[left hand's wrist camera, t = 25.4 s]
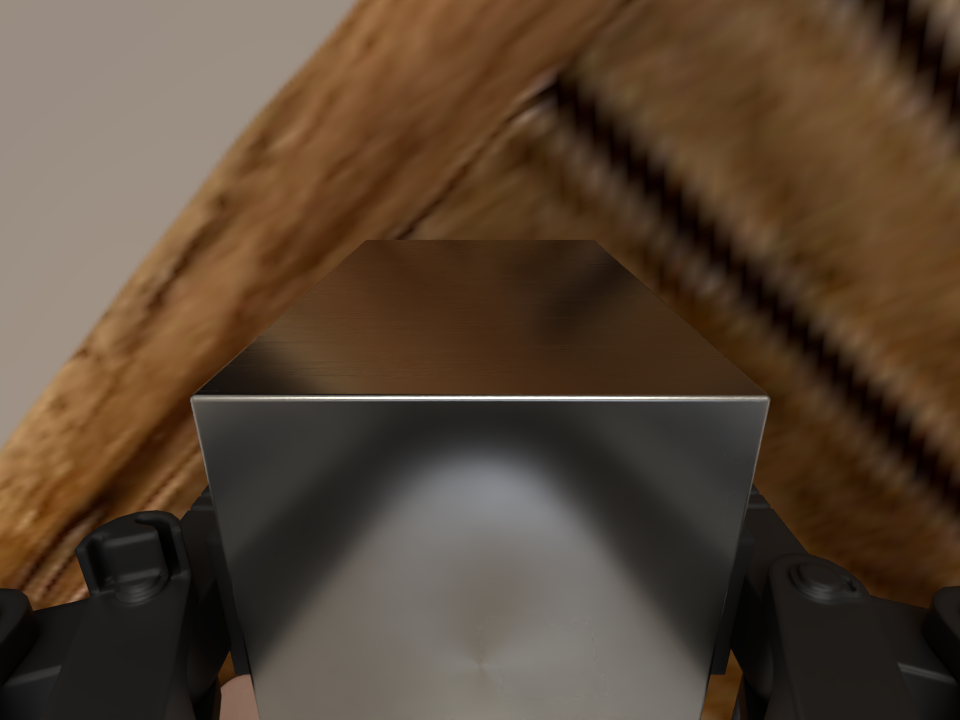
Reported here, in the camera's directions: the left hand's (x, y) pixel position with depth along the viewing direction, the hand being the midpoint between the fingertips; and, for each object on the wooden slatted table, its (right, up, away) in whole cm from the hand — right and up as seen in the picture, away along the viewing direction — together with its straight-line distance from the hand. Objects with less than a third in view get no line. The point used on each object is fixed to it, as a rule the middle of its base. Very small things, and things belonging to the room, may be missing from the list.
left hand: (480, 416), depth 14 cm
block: (0, +1, +3) cm, 3 cm away
